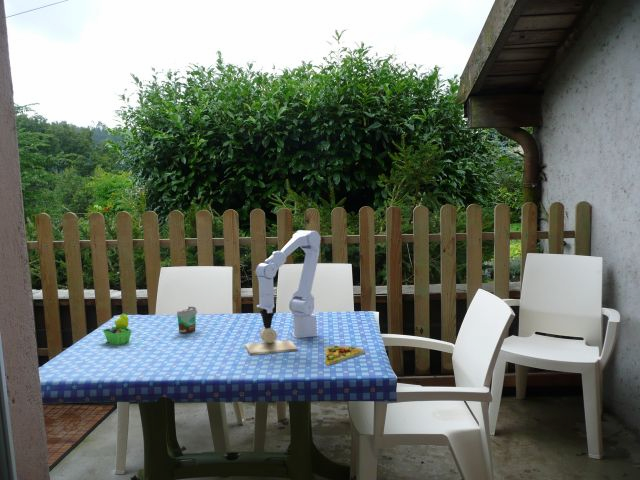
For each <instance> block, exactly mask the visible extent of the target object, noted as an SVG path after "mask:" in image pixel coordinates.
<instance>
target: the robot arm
mask: <svg viewBox="0 0 640 480" xmlns="http://www.w3.org/2000/svg"><path fill="white" fill-rule="evenodd" d="M321 240H322V237H321V236H320V234H319V232H318V231H316V230H303V229H299V230H297V231H296V232H295V233H294V234H292V238H291V239H290V240H289V241H288V242H287V243H286V244H285V245H284V246H283V248H281V250H276V251H273V252H272V254H271V255H270V256H269V257H268V258H267V259H265V260H264V262H261V263H259V264H258V265H257V266H256V269H255V270H254V274H255V275H256V276H257V281H258V296H259V297H258V299H259V300H258V301H259V302H258V303H259V304H257V305H256V308H257V309H258V308H260V309H259V310H258V311H259V313H260V316H261V319H262V323H263V327H264V328H265V329H267V328H271V327H272V322H273V319H274V315H275V314H276V311H275V310H274V308H275V297H274V296H275V295H274V294H275V293H274V278H275V277H276V275H277V272H278V270H279V269H280V268H281V267H282V266H283V265H284V264H285V263H286V262H287V257H288V256H290V254H292V253H293V252H294V251H296V249H298V248H299V247H300V249H301V250H303V252H304V253H305V256H304V261H303V265H302V269H301V270H302V271H301V274H300V279H299V283H298V288H297V291H295V292H294V293H293V294H292V297H291V299H290V300H289V304H288V307H289V308H288V309H289V310H290V312H291V314H292V315H293V317H292V319H293V322H292V323H293V332H291V335H292V337H294V338H295V339H298V338H299V339H301V338H302V339H303V338H311V337H312V338H313V337H318V332H317V331H318V329H317V327H318V326H317V316H316V313H313V312H314V310H315V297H314V295H313V294H312V288H313V284H314V280H315V279H314V278H315V275H316V271H317V265H318V261H319V258H320V257H319V256H320V245H321ZM271 329H272V328H271Z"/></svg>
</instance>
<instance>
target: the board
mask: <svg viewBox="0 0 640 480" xmlns="http://www.w3.org/2000/svg"><path fill="white" fill-rule="evenodd" d="M244 346H245V348H246V350H247V352H248V355H249V356H255V355H256V356H257V355H264V354H265V355H266V354H267V355H268V354H275V353H285V352H286V353H287V352H295V351H296V352H297V351H298V347H297V346H296V345H295V344H294V342H292V340H291V339H288V340H287V339H285V340H275V341H274V342H272V343H267V342H265V341H262V342H252V343H245V345H244Z"/></svg>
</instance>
